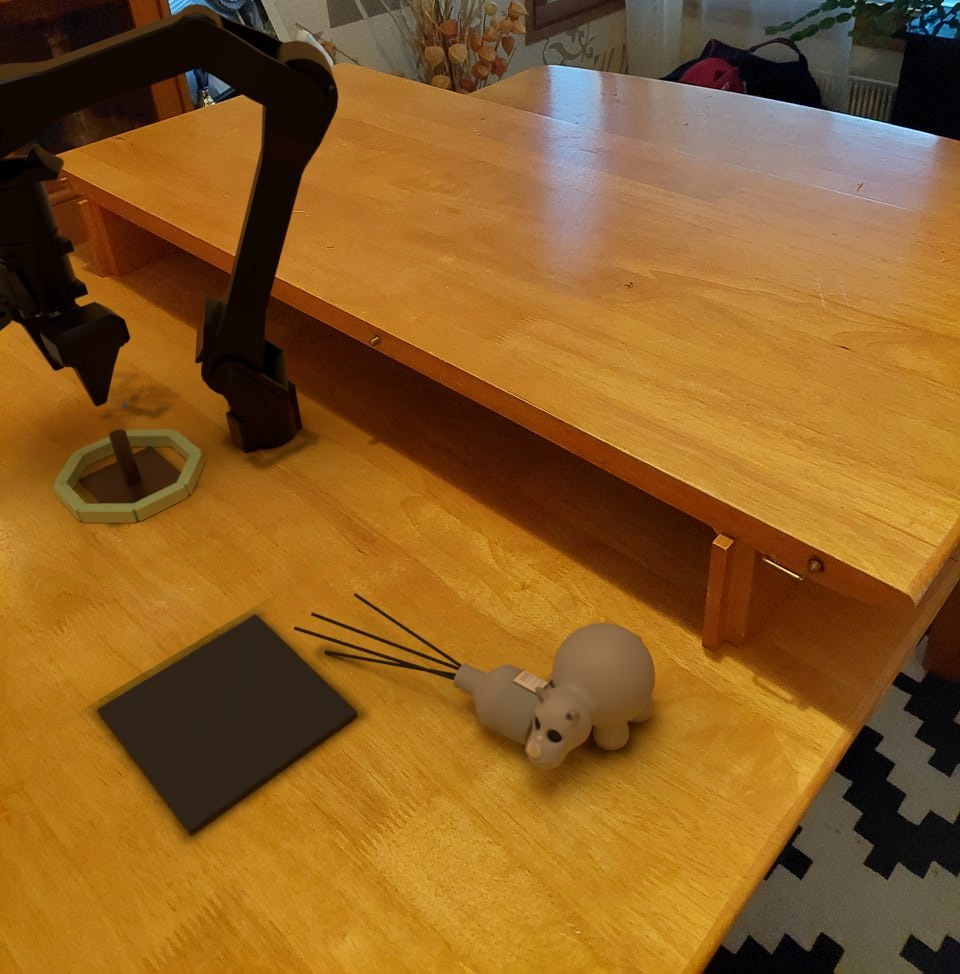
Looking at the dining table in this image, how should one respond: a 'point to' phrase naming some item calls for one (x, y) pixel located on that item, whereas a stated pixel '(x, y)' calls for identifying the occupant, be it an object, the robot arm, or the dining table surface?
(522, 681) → the reed diffuser
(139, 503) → the ring
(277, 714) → the mat
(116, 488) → the stand
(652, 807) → the dining table surface
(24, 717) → the dining table surface
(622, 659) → the round bodied animal figurine
